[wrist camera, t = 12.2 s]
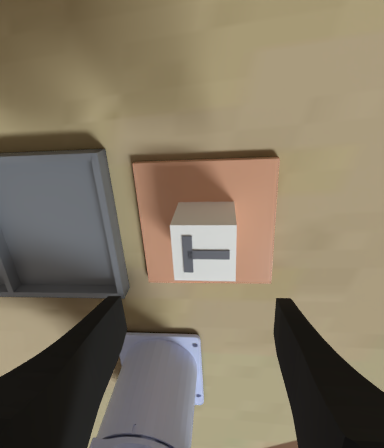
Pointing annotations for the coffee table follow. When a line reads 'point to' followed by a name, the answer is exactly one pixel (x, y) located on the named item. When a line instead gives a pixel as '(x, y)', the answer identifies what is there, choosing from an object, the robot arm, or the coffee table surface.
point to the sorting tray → (59, 226)
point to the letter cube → (204, 241)
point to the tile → (210, 192)
